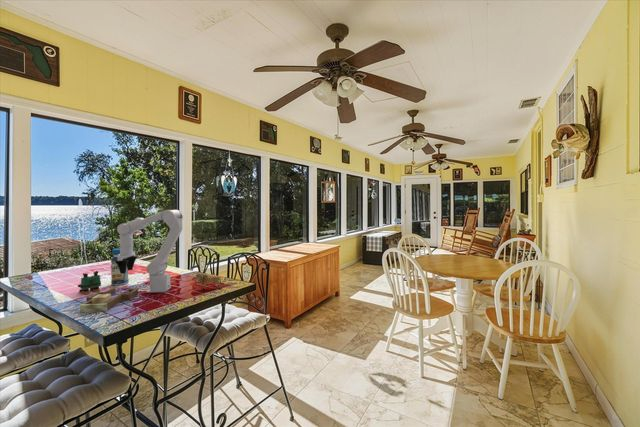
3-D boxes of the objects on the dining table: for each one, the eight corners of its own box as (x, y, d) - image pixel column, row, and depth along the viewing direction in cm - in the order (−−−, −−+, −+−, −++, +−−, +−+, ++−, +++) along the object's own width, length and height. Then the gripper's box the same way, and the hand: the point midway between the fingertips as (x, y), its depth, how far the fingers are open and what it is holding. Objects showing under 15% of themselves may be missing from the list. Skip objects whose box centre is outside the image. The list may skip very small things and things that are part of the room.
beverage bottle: (131, 283, 168) (131, 248, 167) (115, 286, 161) (114, 250, 160) (124, 280, 172) (124, 247, 172) (108, 284, 165) (107, 249, 165)
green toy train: (94, 270, 158) (102, 270, 153) (95, 289, 158) (103, 290, 152) (73, 273, 150) (81, 273, 145) (74, 293, 150) (82, 295, 145)
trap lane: (140, 292, 151) (140, 286, 151) (113, 310, 125) (113, 303, 125) (106, 293, 148) (106, 287, 148) (72, 312, 123) (72, 305, 123)
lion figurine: (195, 291, 154) (195, 274, 154) (195, 288, 159) (195, 272, 159) (224, 288, 160) (224, 272, 160) (223, 285, 165) (223, 270, 165)
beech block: (111, 304, 133) (110, 293, 133) (105, 308, 128) (104, 297, 128) (98, 305, 132) (98, 294, 132) (92, 309, 127) (92, 297, 127)
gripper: (124, 244, 160) (125, 268, 161) (110, 248, 146) (110, 275, 146) (138, 244, 161) (139, 268, 162) (126, 248, 147) (126, 274, 148)
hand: (126, 271), depth 154 cm, fingers open, 7 cm apart
